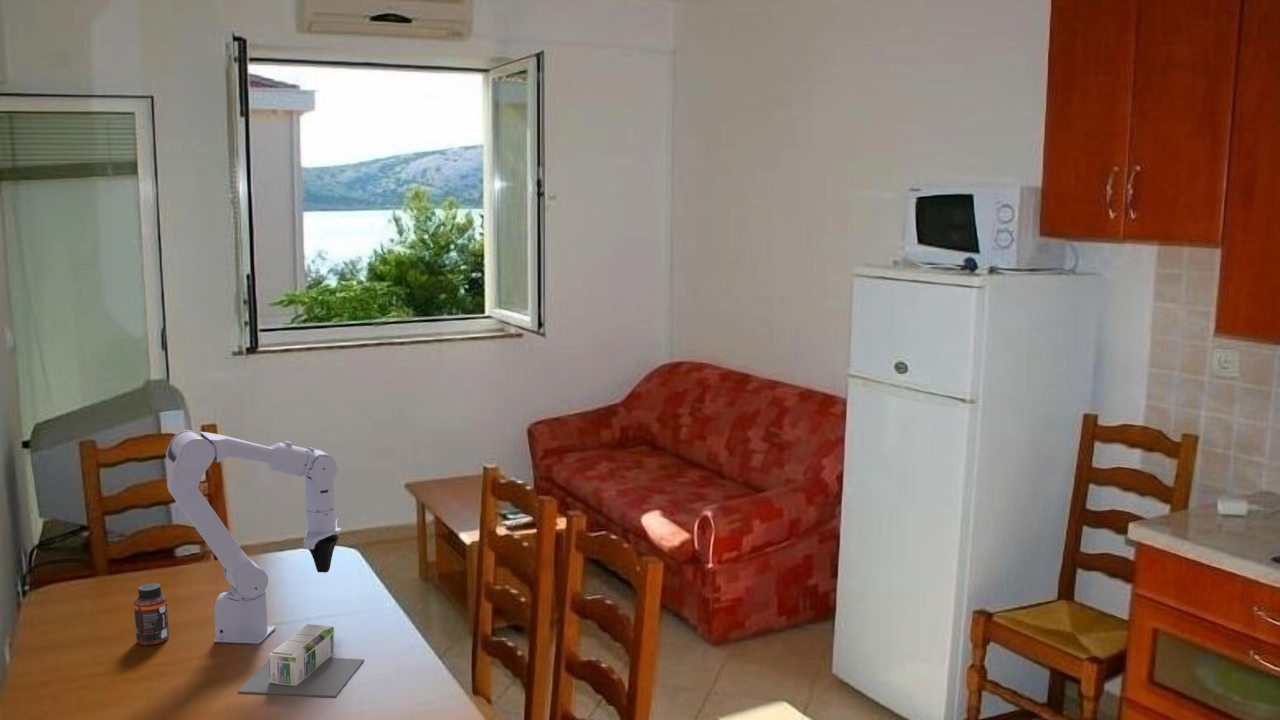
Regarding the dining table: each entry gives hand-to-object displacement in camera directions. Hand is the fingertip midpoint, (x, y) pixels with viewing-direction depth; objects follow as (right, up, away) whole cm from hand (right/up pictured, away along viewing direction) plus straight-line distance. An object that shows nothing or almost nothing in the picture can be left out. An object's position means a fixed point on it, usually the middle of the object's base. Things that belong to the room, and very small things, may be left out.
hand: (323, 571), depth 222 cm
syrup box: (+4, -10, -16) cm, 19 cm away
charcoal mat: (+4, -15, -25) cm, 29 cm away
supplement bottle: (-31, -12, -10) cm, 35 cm away
